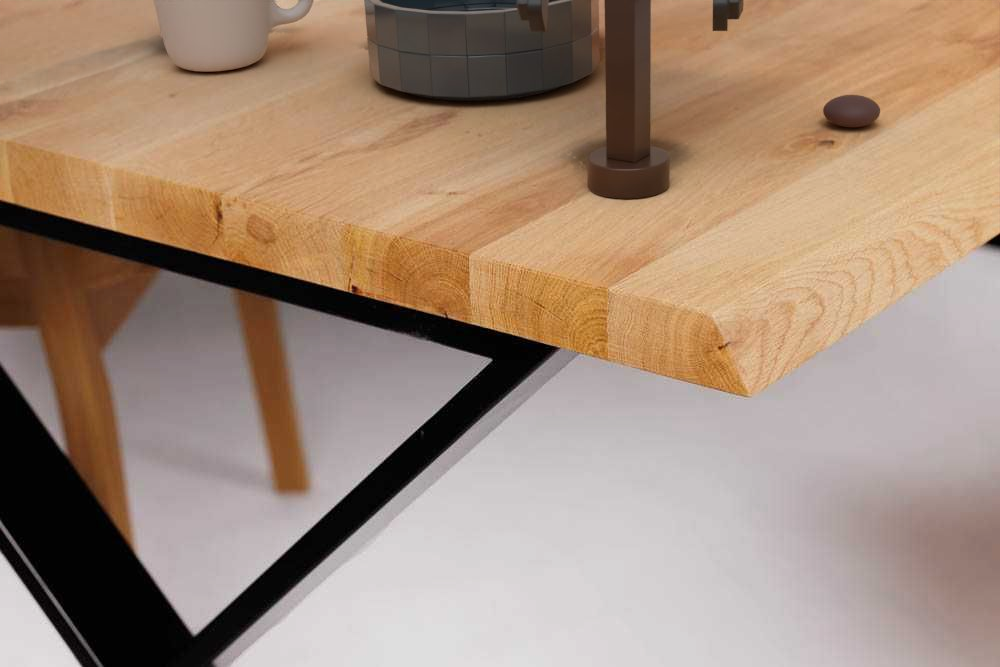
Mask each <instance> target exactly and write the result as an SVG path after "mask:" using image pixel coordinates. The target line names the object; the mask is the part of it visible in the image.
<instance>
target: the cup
mask: <svg viewBox="0 0 1000 667" xmlns="http://www.w3.org/2000/svg"><path fill="white" fill-rule="evenodd" d="M313 3H314V0H298V1H297V2H296V3H295V5H293V6H292V7H290V8H282V7H280V6H279V5H278V4H277V3H276V1H275V0H153V4H154V10H155V13H156V16H157V22H158V24H159V29H160V34H161V37H162V41H163V45H164V48H165V50H166V52H167V55H168V57H169V59H170V61H171V62H172V63H173V64H174V65H175V66H177V67H179V68H181V69H183V70H187V71H193V72H202V73H203V72H206V73H207V72H208V73H209V72H212V73H213V72H223V71H231V70H237V69H240V68H241V69H242V68H244V67H245V68H246V67H248V66H250V65H253V64H255V63H257V62H258V61H260V60H261V59H262V58H263V57H264V55H265V54H266V52H267V49H268V44H269V37H270V36H269V35H270V32H271V30H272V29H274V28H275V27H278V26H282V25H288V24H289V25H290V24H292V23H295V22H298V21H300V20H302V19H303V18H305V17H306V16H307V15H308V14H309V13H310V11H311V9H312V6H313Z"/></svg>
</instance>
